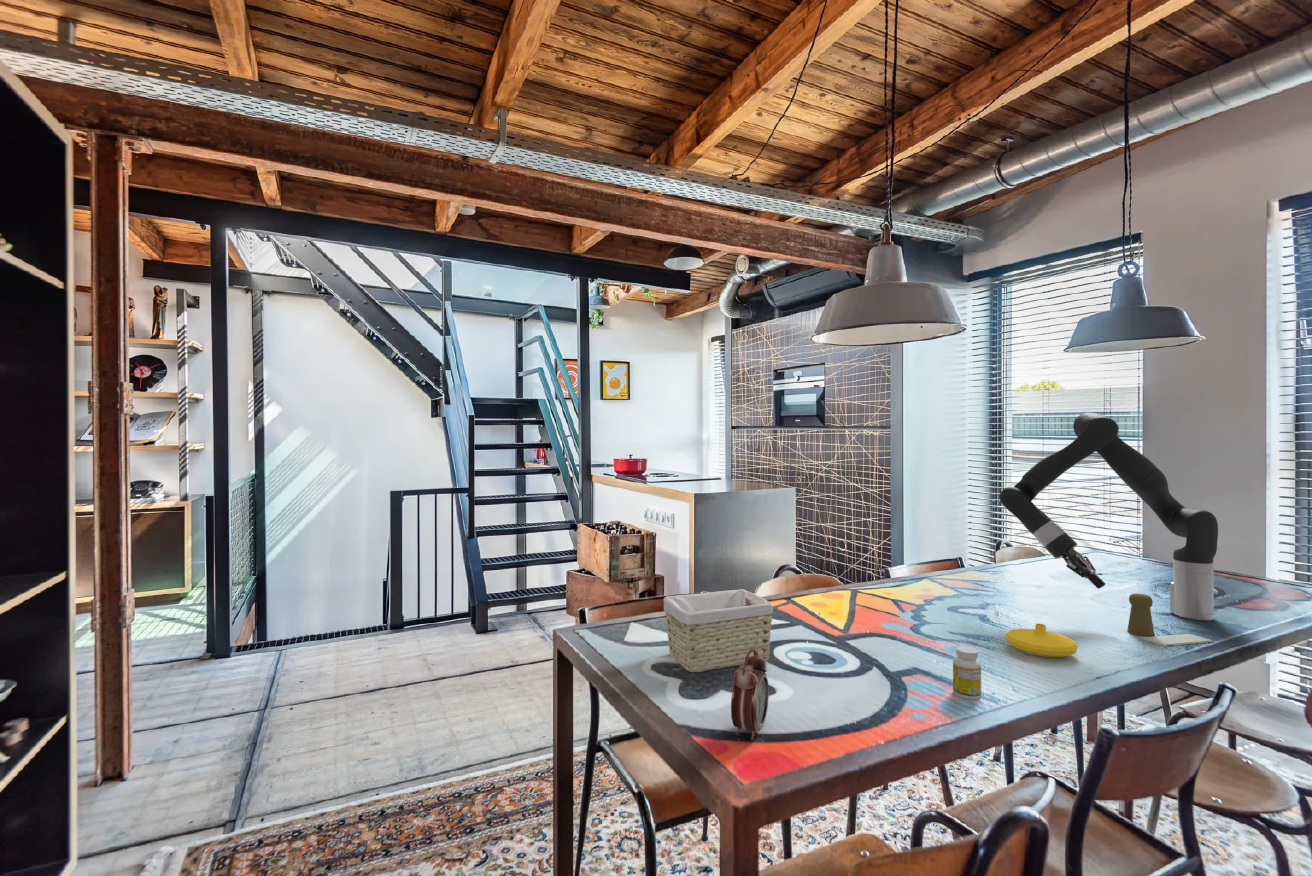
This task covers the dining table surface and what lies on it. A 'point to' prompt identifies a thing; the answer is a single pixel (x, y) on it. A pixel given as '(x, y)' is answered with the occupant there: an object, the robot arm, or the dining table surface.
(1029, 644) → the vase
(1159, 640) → the pad
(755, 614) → the storage basket
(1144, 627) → the cork
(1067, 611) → the dining table surface
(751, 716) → the alarm clock
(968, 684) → the supplement bottle
